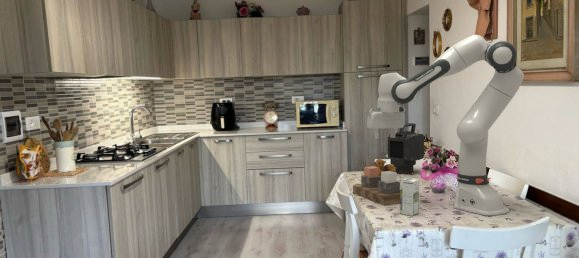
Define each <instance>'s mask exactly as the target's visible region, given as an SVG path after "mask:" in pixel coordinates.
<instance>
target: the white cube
mask: <svg viewBox="0 0 579 258" xmlns="http://www.w3.org/2000/svg"><path fill="white" fill-rule="evenodd" d="M397 175H398V174H397V173H396V172H392V171H384V172H381V181H382V182H385V183H394V182H397V181H398V180H397Z"/></svg>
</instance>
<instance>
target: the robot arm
mask: <svg viewBox="0 0 579 258" xmlns="http://www.w3.org/2000/svg"><path fill="white" fill-rule="evenodd" d="M517 57H518V53H517V49H516V46H514V45H513V44H512V42H509V41H507V40H497V41H496V40H495V41H487V40H486V39H485V38H484V37H483V36H482V35H479V34H473V35H469V36H467V37H465V38H463V39H462V40H460V41H458V42H456V43H455V44H453V45H452V46H451V47H449V48H448V49H447V50H445V51H444V52H443V53H442V54H441V55H440V56H439V57H437V59H435V60H434V61H433V62H432V63H431V64H430V65H429V66H427V67H425V68H424V69H423V70H421V71H419V72H417V73H416V74H414V75H413V76H411V77H409V78H406V77H404V76H402V75H401V74H399V73H398V72H397V71H391V72H384V73H382V74H381V75H380V77H379V80H378V87H377V88H378V89H377V93H378V98H377V103H376V104H377V105H376V107H372V108H371V109H370V110H368V116H367V119H366V127H367V129H371V130H372V131H373V135H374V139H376V140H377V139H378V140H379V139H380V138H381V134H379V130H381V129H391V130H392V131H391V133H392V134H390V133H389V134H390V137H391V138H395V134H396V132H398V130H399V129H400V128H403V127H404V124H406V122H405V121H406V114H405V112H406V108H405V107H404V106H402V105H405V104H408V103H411V102H413V101H415V100H416V99H418V97H419V96H420V93H421V90H422V89H423V88H425V87H427V86H428V85H431V83H433V82H435V81H437V80H438V79H441V78H445V77H449V76H450V77H451V76H453V75H456V74H458V73H461V72H462V71H465V70H466V69H468V67H469V68H470V66H472V65H474V64H475V63H478V62H480V61H485V62H486V63H487V64H488V65H489V66H490V67H492V68H493V69H494V74H493V76H492V78H491V79H490V80H489V82H488V84H487V85H486V86H485V88H484V89H483V91H482V92H481V93H480V95H479V96H478V97H477V99H476V101H475V102H474V103H473V104H472V106H471V107H470V108H469V109H468V111H467V112H466V113H465V115H464V116H463V117H462V119H461V120H460V121H459V122H458V124H457V126H456V134H457V137H458V139H459V140H460V145H459V152H458V172H457V174H456V181H457V188H456V195H455V199H454V201H453V202H454V203H453V208H454V209H457V210H459V211H460V210H461V211H465V212H469V213H474V214H477V215H482V216H499V215H504V214H507V213H509V212H510V209H509V208H507V207H505V206H504V204H503V198H502V196H501V194H499V192H497V190H495V188H494V187H492V185H491V184H490V181H491V180H492V177H489V176H488V174H487V151H488V142H489V140H488V139H489V130H490V129H491V127H492V126H493V125H494V124H495V122H496V121H497V120H498V119H499V118H500V116H501V115H502V113H503V112H504V110H505V109H506V108H507V107H508V105H509V104H510V102H511V101H512V100H513V98H514V97H515V95H516V94H517V92H518V91H519V89H520V87H521V86H522V83H523V81H524V79H525V74H524V72H523V70H522V69H520V68H519V67H518V66H517V60H518V59H517ZM400 104H401V105H400ZM404 128H405V127H404Z"/></svg>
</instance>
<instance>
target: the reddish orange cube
mask: <svg viewBox="0 0 579 258" xmlns="http://www.w3.org/2000/svg"><path fill="white" fill-rule="evenodd" d="M363 170H364V171H363V172H364V174H363V175H364V176H366V177H369V178H372V177H379V168H378V167H375V166H374V165H373V166H372V165H371V166H364V169H363Z"/></svg>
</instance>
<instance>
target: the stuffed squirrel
mask: <svg viewBox="0 0 579 258" xmlns="http://www.w3.org/2000/svg"><path fill="white" fill-rule="evenodd" d="M386 162H387V160H384V159H382V158H377V159H376V160H375V161H374V163H372V165H371V166H374V167H378V168H379V176H381V172H384V171H392V172H395V171H396V170H395V169H396V167H394V165H392V164H390V163H387V164H386Z"/></svg>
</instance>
